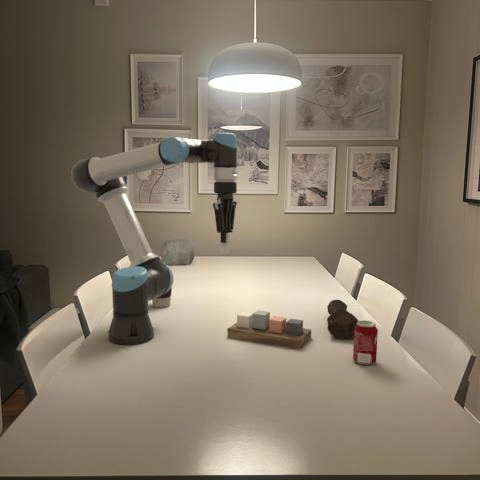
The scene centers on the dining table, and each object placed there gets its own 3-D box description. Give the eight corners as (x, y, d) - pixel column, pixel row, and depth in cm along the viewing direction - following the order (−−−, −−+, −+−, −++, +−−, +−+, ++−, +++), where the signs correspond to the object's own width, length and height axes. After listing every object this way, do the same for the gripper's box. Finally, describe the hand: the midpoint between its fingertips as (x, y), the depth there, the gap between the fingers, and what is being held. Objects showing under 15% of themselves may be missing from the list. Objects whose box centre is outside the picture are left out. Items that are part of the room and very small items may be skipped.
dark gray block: (298, 338, 160) (298, 324, 160) (285, 336, 162) (286, 322, 161) (302, 334, 164) (303, 320, 163) (290, 332, 166) (290, 318, 165)
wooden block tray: (299, 349, 156) (300, 340, 156) (227, 336, 167) (227, 328, 167) (311, 337, 167) (311, 329, 167) (242, 326, 178) (242, 318, 178)
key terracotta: (281, 336, 163) (281, 321, 162) (269, 334, 165) (269, 319, 164) (285, 332, 167) (286, 317, 166) (273, 330, 169) (274, 316, 168)
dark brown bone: (350, 347, 164) (340, 330, 192) (366, 320, 164) (353, 307, 191) (321, 331, 165) (316, 316, 193) (337, 304, 164) (329, 293, 192)
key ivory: (248, 330, 168) (248, 316, 167) (237, 328, 170) (237, 315, 169) (253, 327, 172) (253, 313, 171) (242, 325, 174) (242, 311, 173)
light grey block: (264, 329, 165) (264, 315, 164) (252, 327, 167) (253, 313, 166) (269, 326, 169) (269, 312, 168) (257, 324, 171) (258, 310, 170)
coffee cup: (168, 309, 199) (168, 273, 197) (145, 308, 201) (145, 272, 199) (176, 303, 209) (176, 268, 207) (154, 301, 211) (154, 267, 209)
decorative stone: (159, 265, 290) (163, 262, 300) (192, 266, 289) (195, 262, 299) (158, 238, 288) (162, 235, 298) (192, 238, 287) (194, 235, 297)
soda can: (372, 368, 142) (374, 328, 140) (349, 363, 145) (351, 324, 144) (379, 360, 147) (380, 322, 146) (357, 356, 151) (358, 318, 149)
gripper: (226, 181, 153) (226, 256, 156) (244, 181, 165) (243, 250, 168) (205, 181, 156) (205, 254, 159) (224, 180, 168) (224, 248, 171)
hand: (225, 252), depth 164 cm, fingers closed
